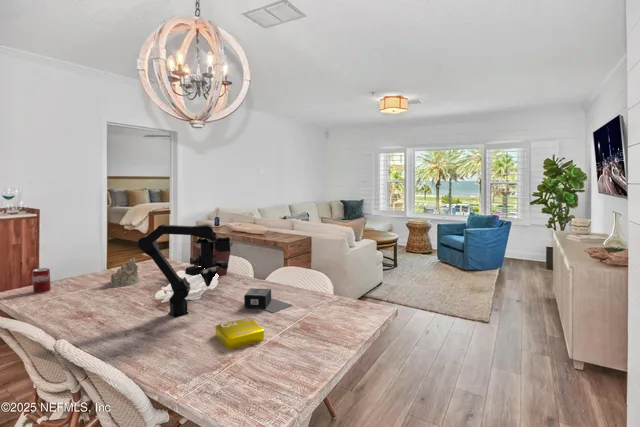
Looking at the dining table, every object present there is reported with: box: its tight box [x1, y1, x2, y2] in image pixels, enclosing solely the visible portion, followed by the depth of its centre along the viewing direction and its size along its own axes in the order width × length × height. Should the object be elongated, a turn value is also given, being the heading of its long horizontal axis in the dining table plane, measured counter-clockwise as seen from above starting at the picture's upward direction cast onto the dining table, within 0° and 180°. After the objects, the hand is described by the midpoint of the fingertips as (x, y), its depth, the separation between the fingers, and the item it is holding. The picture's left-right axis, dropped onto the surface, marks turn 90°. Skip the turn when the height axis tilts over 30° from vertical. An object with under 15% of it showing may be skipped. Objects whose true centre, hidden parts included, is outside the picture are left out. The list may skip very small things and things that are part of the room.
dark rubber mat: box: [259, 297, 293, 314], centre depth 171 cm, size 13×16×1 cm
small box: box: [243, 287, 272, 309], centre depth 170 cm, size 11×6×10 cm
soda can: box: [31, 267, 52, 295], centre depth 185 cm, size 7×7×12 cm
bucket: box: [192, 235, 234, 278], centre depth 222 cm, size 24×22×25 cm
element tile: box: [215, 317, 265, 350], centre depth 136 cm, size 15×15×5 cm
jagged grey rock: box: [110, 257, 141, 288], centre depth 204 cm, size 16×16×15 cm
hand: (207, 286), depth 160 cm, fingers closed
